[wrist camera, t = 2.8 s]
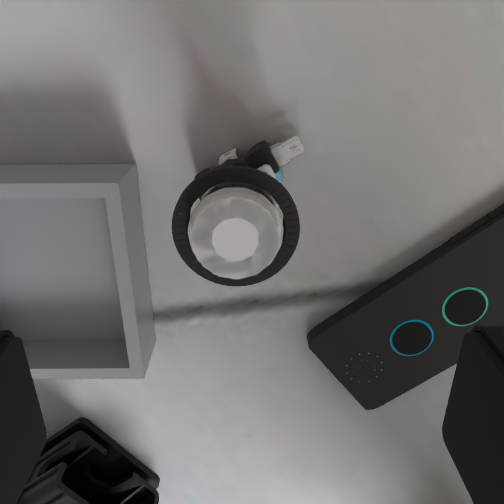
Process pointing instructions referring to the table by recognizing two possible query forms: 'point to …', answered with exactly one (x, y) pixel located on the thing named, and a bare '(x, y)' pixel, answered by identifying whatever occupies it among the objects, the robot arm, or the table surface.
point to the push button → (239, 217)
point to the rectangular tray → (75, 270)
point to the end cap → (88, 471)
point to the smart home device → (416, 316)
